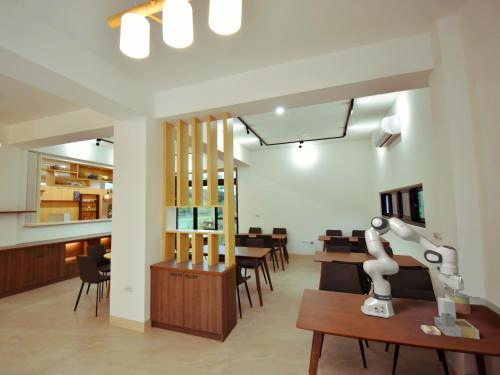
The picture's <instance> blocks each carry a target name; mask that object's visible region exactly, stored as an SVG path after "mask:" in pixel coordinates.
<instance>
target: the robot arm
mask: <svg viewBox="0 0 500 375" xmlns="http://www.w3.org/2000/svg"><path fill="white" fill-rule="evenodd" d="M370 226H371V228H368V229H366V230H365V231H364V238H365V243H366V246H367V247H366V248H367V250H368V251H367V252H368V254H370V255H371V256H373V257H375V258H376V259H369V260H365V261H364V262H363V265H362V266H363V271H364V272H365V273H366V274H367V275H368V276H370V278H371V280H372V284H373V290H374V291H372V290H370V291H369V294H371V296H370V297H368V298H367V299H365V300H364V303H363V305H361V307H360V310H361V311H362V313H363V314H365V315H367V316H368V315H370V316H373V317H374V316H375V317H382V318H387V319H389V318H390V317H393V316H394V315H395V312H394V309H393V303H392V302H393V298H392V293H391V283H390V282H389V281H388V280H387V279H385V278H383V277H384V276H383V275H394V274H398V273H399V269H400V266H399V264H398V263H397V261H395V260H394V259H392V258H391V256H389V255H388V254H387V252H386V251H385V248H384V246H383V243H382V239H381V236H383V235H385V234H387V233H388V232H389V231H391V232H393V234H395V235H396V236H397V237H398V238H400V239H401V240H403V241H408V242H412V243H416V244H419V245H420V246H421V247H422V248H424V249H425V251H424V253H423V257H424V260H425V261H427V262H428V263H430V264H440V266H436V270H437V271H436V275H437V279H438V281H440V282H441V283H442V287H443V289H444V290H446V291H447V290H449V288H448V286H449V287H450V288H453V290H454V291H452V292H453V294H454V295H458V293H460V291H462V292H463V291H464V290H465V283H464V279H463V278H462V277H461V275H460V273H459V272H460V271H459V265H458V264H459V263H458V262H459V257H458V256H459V255H458V252H457V249H456V248H455V247H453V246H450V245H446V244H445V245H441V246H438V245H436V244H435V243H433V242H432V241H430V240H429V239H428V238H426V237H424V236H423V235H422V234H420V233H419V232H417V231H416V230H414V228H412V227H411V226H409V225H408V224H407V223H406V222H404V221H403V220H401V219H400V218H398V217H394V216H393V217H390V218H389V219H387V218H384V217H381V216H375V217H372V219H371V221H370ZM447 285H448V286H447Z"/></svg>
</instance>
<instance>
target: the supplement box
mask: <svg viewBox="0 0 500 375" xmlns="http://www.w3.org/2000/svg"><path fill="white" fill-rule="evenodd" d="M437 307H438V308H437V309H438V317H442V315H441V313H450V314H452V315H453V316H454V317H455V319H457V314H456V313H457V312H455V302H454V301H452V300H451V299H450V297H437Z"/></svg>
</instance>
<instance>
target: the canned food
mask: <svg viewBox="0 0 500 375" xmlns="http://www.w3.org/2000/svg"><path fill="white" fill-rule="evenodd" d="M453 292H454V291H451V292H449V299H451V300H452V301H454V302H455V312H456V313H457V314H461V315H462V314H463V315H470V314H471V303H470V302H471V300H470V296H469V295H468V294H465V293H462V292H458V295H454V294H453Z"/></svg>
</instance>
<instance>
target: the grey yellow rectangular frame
mask: <svg viewBox="0 0 500 375" xmlns="http://www.w3.org/2000/svg"><path fill="white" fill-rule="evenodd" d="M433 319H434V325H435V327H436V328H437V329H438V330H439V331H440V332H442V333H443V334H444V335H445V336H446V337H447V336H448V337H457V338H465V339H466V338H467V339H477V340H480V332H479V331H480V330H479V329H478V328H477V327H475V326H474V325H473V324H471V323H470V322H469V321H467V320H466V319H464V318H456V319H455V325H447V324H445V323H444V322H443V321H442V317H441V316H434V317H433Z"/></svg>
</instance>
